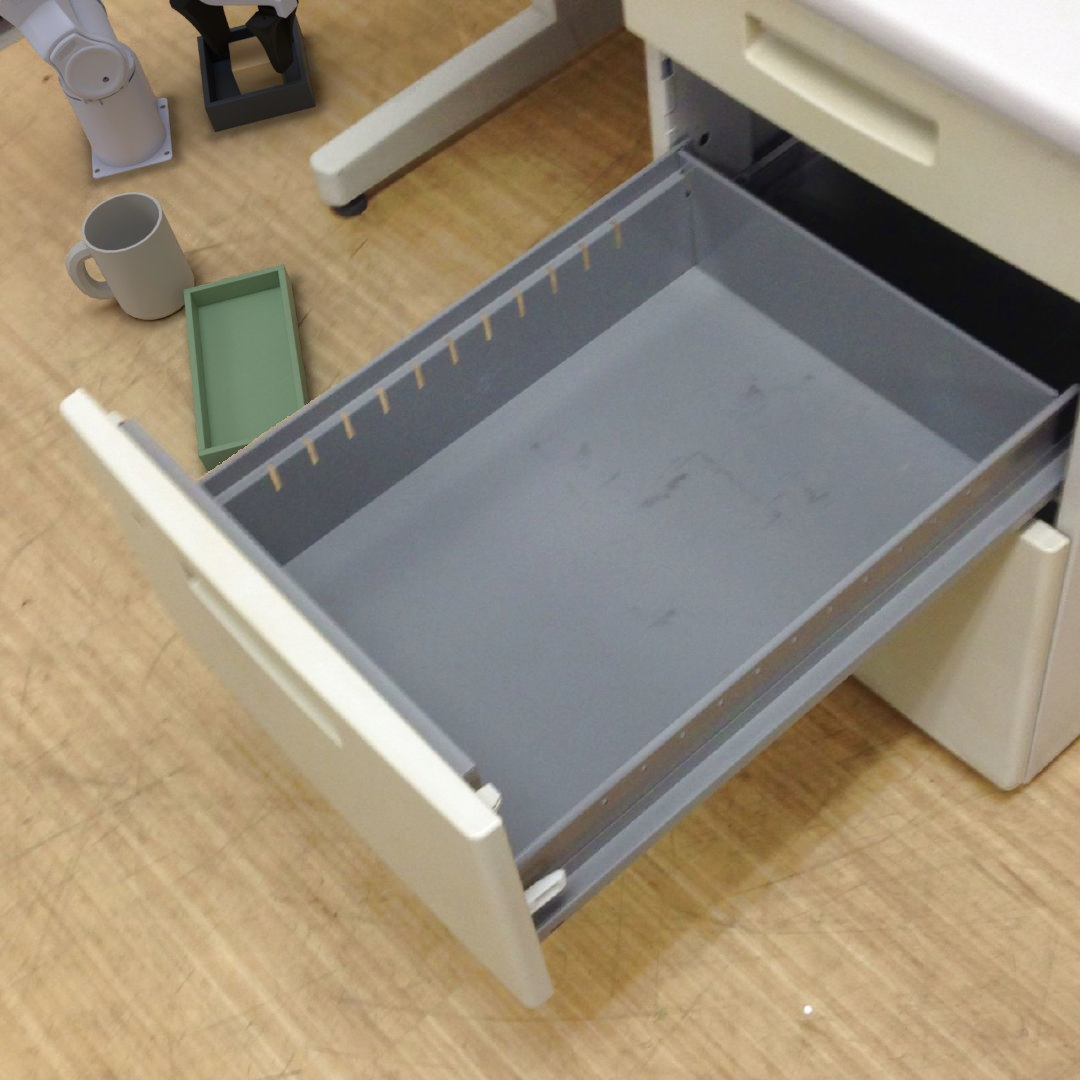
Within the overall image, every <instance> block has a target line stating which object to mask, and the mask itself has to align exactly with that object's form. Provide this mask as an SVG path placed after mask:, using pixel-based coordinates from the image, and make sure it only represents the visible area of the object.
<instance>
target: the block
mask: <svg viewBox="0 0 1080 1080" xmlns="http://www.w3.org/2000/svg"><path fill="white" fill-rule="evenodd" d="M229 51H230V59H231V66H232V72H233V75H234V77H235V80H236V82H237V85H238V88H239V90H240V93H241V95H243V94H247V93H251V92H255V91H259V90H263V89H266V88H270V87H274V86H278V85H282V84H286V83H287V80H286V74H285V72H284V73H283V74H280V73H277V72H276V71H275V70H274V68H273V66H272V65H271V63H270V60H269V58H268V56H267V53H266V51H265V49H264V47H263V46H262V44H261V43H260V41H259V40H258V38H257V37H256V36H255V37H251V38H247V39H244V40H240V41H236V42H232V43H229Z"/></svg>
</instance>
